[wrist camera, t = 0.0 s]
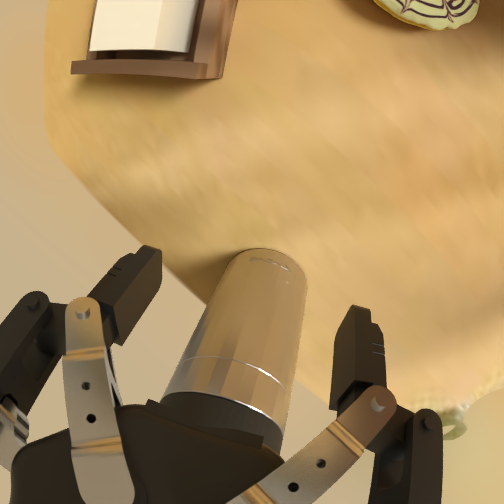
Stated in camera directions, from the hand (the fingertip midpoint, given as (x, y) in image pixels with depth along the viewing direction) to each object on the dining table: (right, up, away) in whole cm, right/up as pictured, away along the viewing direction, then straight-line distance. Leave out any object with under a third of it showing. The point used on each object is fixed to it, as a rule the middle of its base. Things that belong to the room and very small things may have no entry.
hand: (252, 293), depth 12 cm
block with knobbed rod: (-6, +28, +3) cm, 29 cm away
